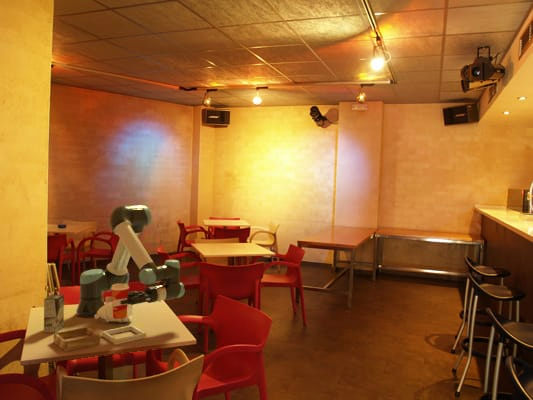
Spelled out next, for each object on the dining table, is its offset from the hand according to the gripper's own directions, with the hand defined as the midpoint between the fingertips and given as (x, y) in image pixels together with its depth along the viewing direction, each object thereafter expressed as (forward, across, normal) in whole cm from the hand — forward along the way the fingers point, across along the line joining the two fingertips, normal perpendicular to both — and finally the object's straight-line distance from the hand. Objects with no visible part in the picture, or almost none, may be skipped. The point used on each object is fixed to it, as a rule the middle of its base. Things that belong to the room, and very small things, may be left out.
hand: (109, 301), depth 207 cm
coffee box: (+14, +31, -18) cm, 38 cm away
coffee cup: (-5, 0, -8) cm, 10 cm away
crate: (+13, +6, -18) cm, 23 cm away
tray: (-7, 0, -18) cm, 19 cm away
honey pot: (-20, +19, -11) cm, 29 cm away
